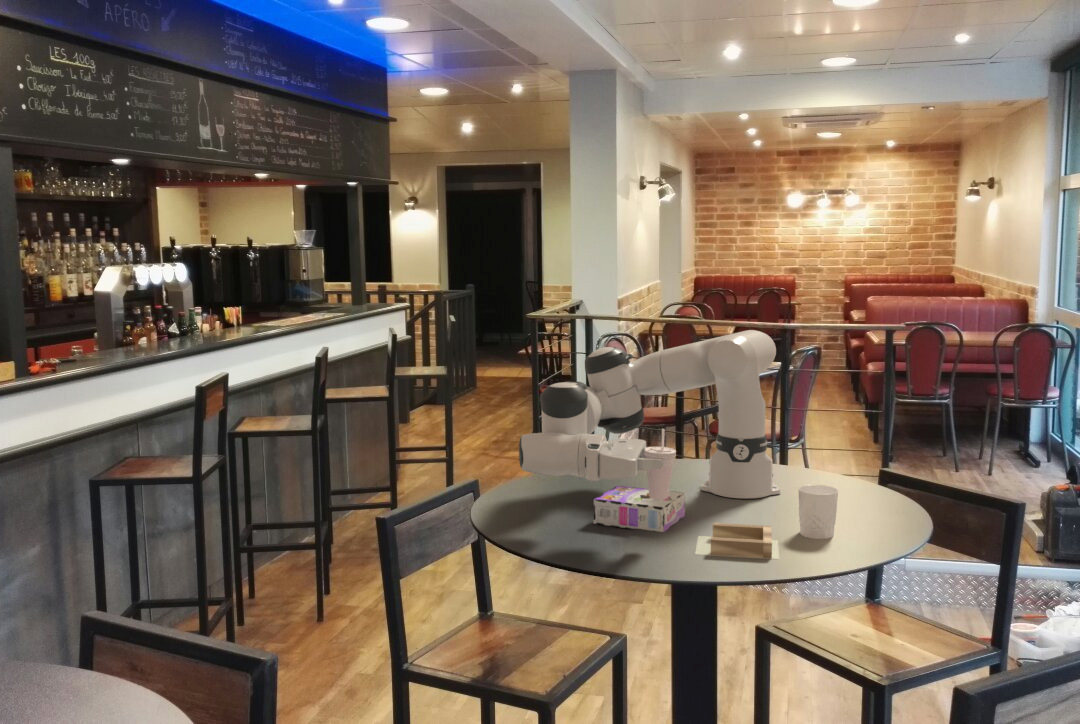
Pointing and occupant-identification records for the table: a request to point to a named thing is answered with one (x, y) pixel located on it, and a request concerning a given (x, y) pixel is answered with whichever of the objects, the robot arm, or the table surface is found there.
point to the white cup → (817, 511)
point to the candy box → (638, 509)
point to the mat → (705, 549)
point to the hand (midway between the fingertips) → (664, 459)
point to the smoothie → (660, 470)
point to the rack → (741, 540)
